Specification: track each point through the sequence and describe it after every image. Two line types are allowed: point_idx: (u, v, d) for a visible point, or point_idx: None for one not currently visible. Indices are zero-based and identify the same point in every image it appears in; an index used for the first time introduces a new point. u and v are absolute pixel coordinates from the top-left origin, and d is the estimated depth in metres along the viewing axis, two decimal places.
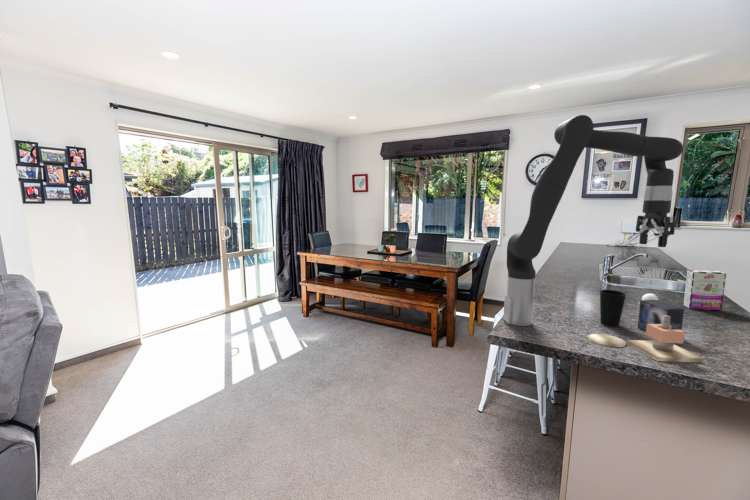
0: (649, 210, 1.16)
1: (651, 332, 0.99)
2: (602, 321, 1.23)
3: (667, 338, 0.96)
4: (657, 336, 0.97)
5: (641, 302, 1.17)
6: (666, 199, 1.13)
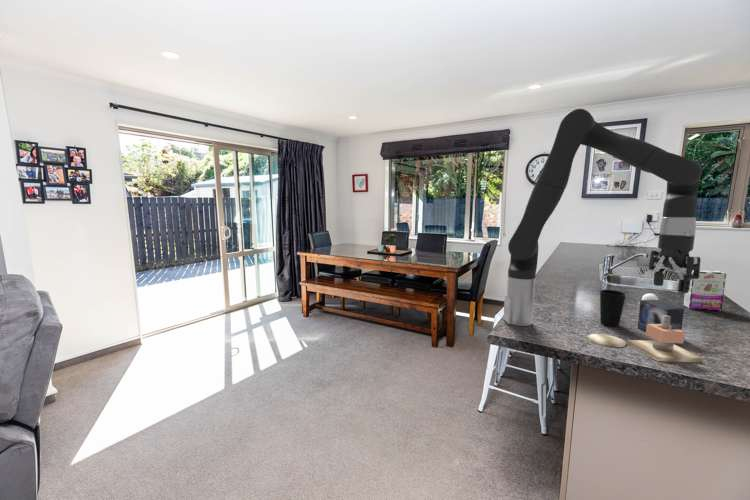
0: (667, 246, 0.94)
1: (651, 332, 0.99)
2: (602, 321, 1.23)
3: (667, 338, 0.96)
4: (657, 336, 0.97)
5: (641, 302, 1.17)
6: (688, 234, 0.91)
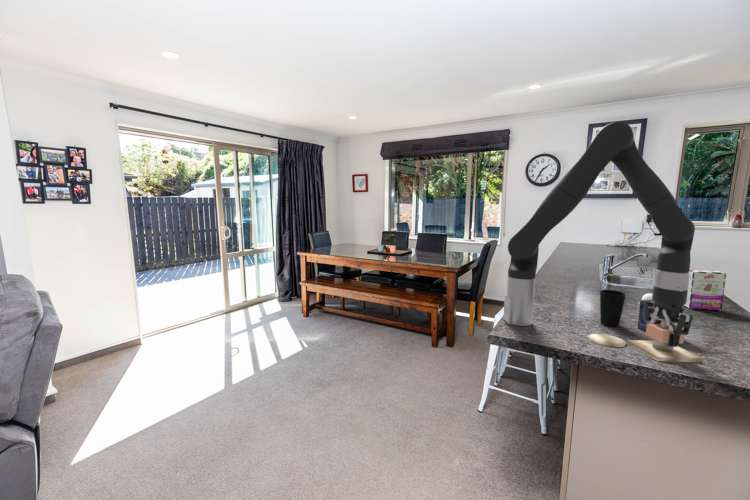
0: (661, 300, 0.96)
1: (651, 332, 0.99)
2: (602, 321, 1.23)
3: (667, 338, 0.96)
4: (657, 336, 0.97)
5: (641, 302, 1.17)
6: (681, 289, 0.93)
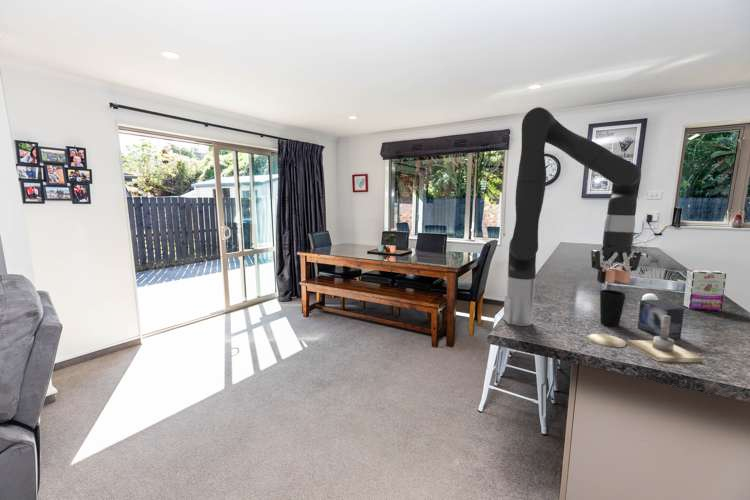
0: None
1: None
2: (602, 321, 1.23)
3: None
4: None
5: (641, 302, 1.17)
6: (606, 229, 1.03)
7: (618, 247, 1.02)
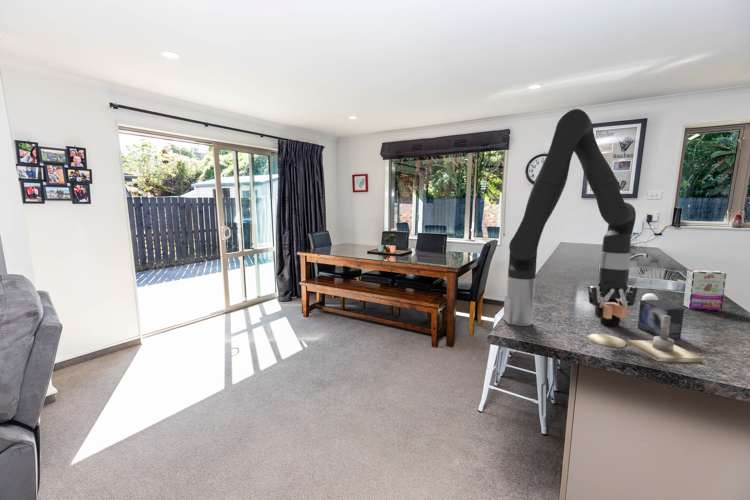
0: None
1: None
2: (602, 321, 1.23)
3: None
4: None
5: (641, 302, 1.17)
6: (602, 266, 1.05)
7: (614, 283, 1.04)
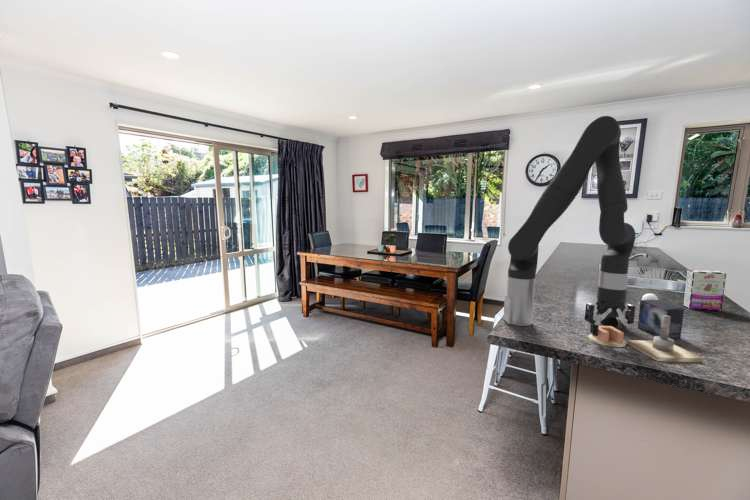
0: None
1: None
2: (602, 321, 1.23)
3: None
4: None
5: (641, 302, 1.17)
6: (600, 286, 1.05)
7: (612, 303, 1.05)
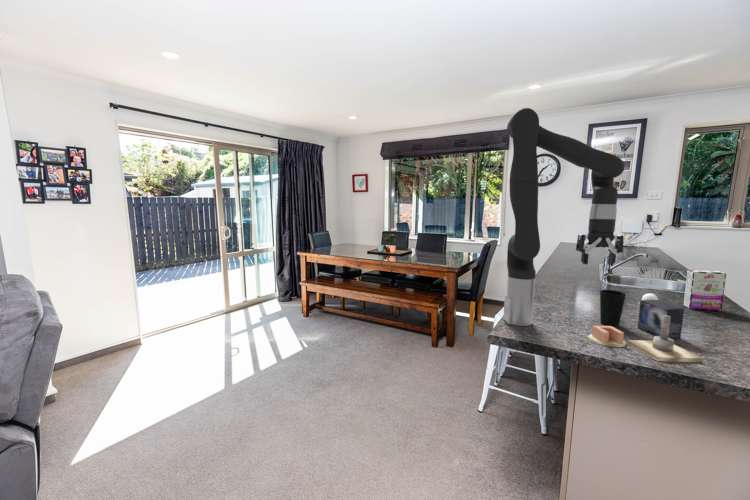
0: None
1: None
2: (602, 321, 1.23)
3: (594, 333, 1.09)
4: None
5: (641, 302, 1.17)
6: (591, 217, 1.14)
7: (602, 233, 1.13)
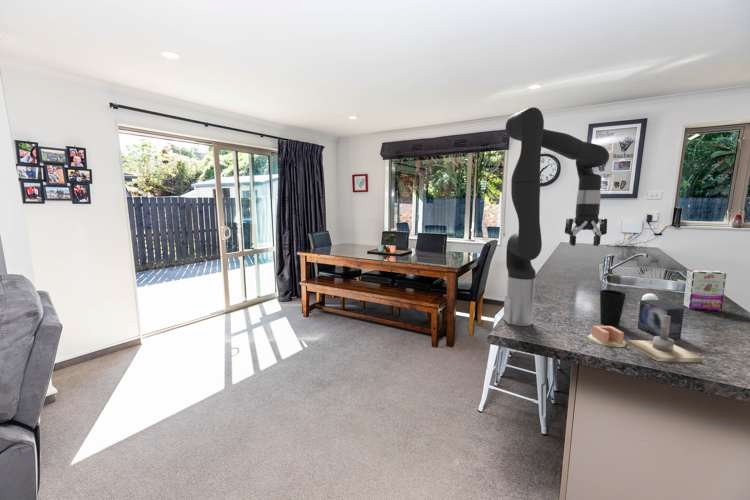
0: None
1: None
2: (602, 321, 1.23)
3: (594, 333, 1.09)
4: None
5: (641, 302, 1.17)
6: (578, 202, 1.25)
7: (587, 217, 1.25)
